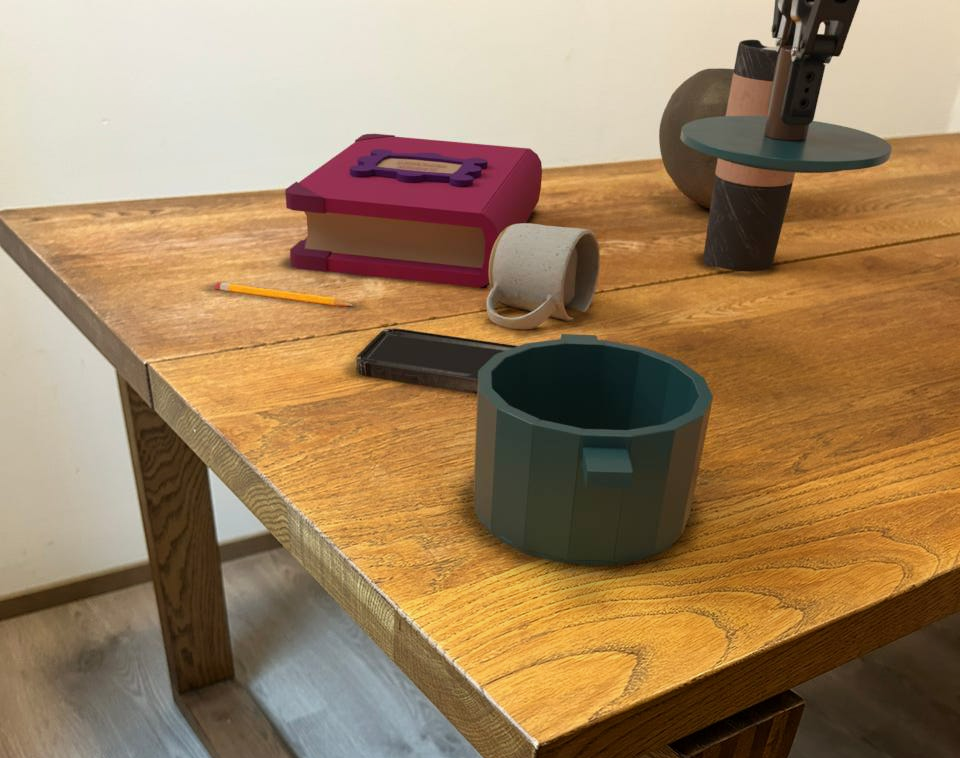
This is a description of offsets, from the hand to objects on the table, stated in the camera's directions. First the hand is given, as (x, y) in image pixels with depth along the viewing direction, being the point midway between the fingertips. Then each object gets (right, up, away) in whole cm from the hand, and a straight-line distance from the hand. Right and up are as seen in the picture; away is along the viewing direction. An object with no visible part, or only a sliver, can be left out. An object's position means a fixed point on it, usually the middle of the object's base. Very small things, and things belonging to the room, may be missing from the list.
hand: (789, 117), depth 71 cm
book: (-28, +6, +37) cm, 47 cm away
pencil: (-40, -6, +20) cm, 45 cm away
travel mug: (+5, +2, +34) cm, 34 cm away
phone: (-24, -16, +9) cm, 30 cm away
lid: (0, -1, +1) cm, 2 cm away
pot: (-16, -29, -7) cm, 34 cm away
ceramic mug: (-17, -8, +20) cm, 27 cm away
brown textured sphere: (+6, +15, +51) cm, 54 cm away
